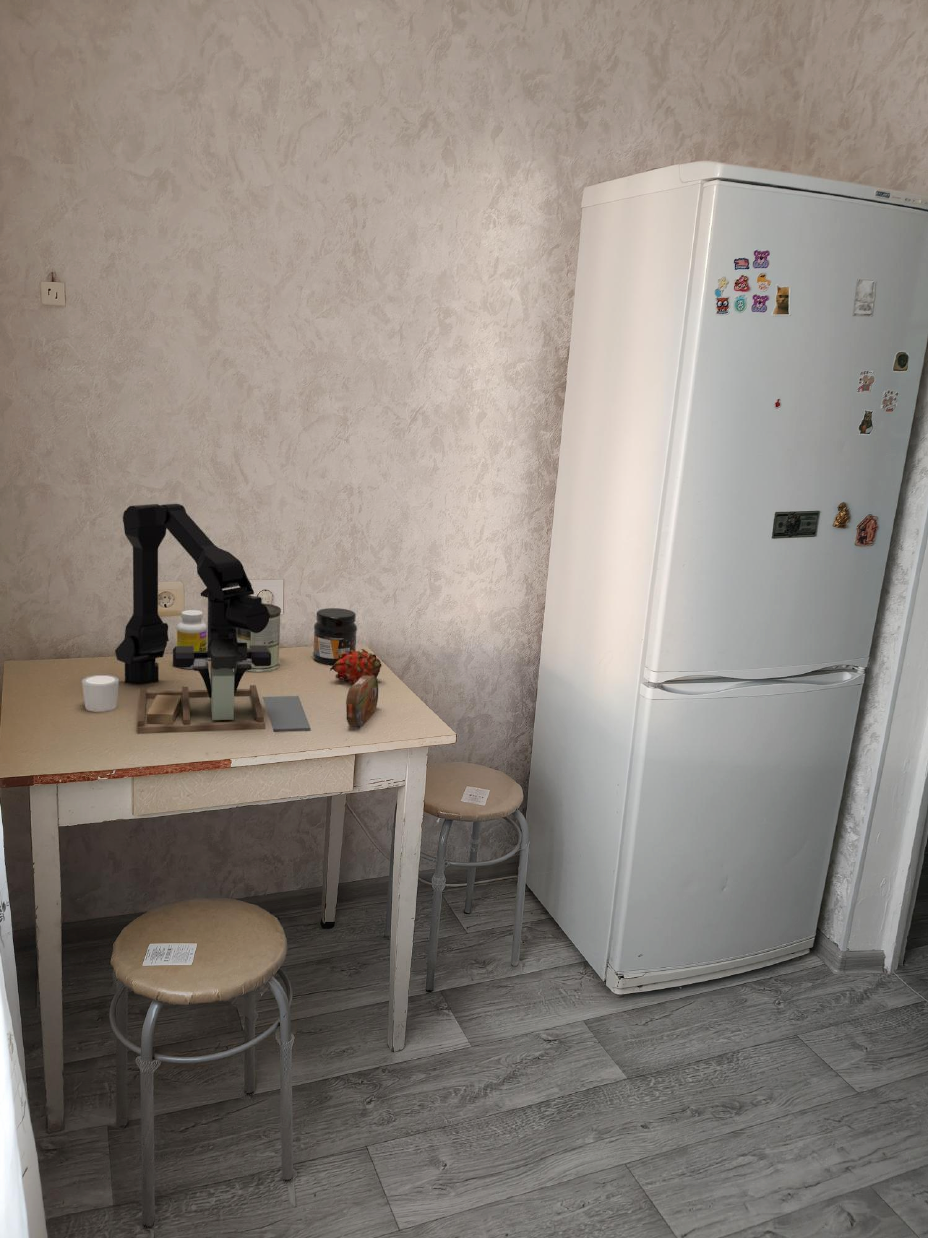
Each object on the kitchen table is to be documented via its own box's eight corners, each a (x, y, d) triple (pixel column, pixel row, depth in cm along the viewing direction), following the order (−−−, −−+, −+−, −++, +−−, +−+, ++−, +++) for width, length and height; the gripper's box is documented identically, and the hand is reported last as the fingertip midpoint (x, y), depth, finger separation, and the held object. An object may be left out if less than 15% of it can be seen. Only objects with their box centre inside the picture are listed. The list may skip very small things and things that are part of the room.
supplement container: (319, 667, 228) (321, 619, 225) (307, 654, 237) (309, 608, 234) (361, 664, 232) (363, 617, 229) (348, 652, 241) (350, 606, 238)
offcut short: (146, 723, 181) (146, 713, 181) (157, 704, 192) (157, 694, 192) (172, 724, 182) (172, 714, 182) (181, 704, 193) (181, 695, 192)
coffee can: (228, 669, 221) (229, 611, 217) (244, 657, 231) (245, 601, 227) (271, 674, 220) (272, 615, 216) (285, 662, 229) (286, 605, 226)
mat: (267, 731, 185) (267, 729, 185) (258, 699, 203) (258, 696, 203) (310, 730, 188) (310, 728, 188) (298, 698, 205) (298, 695, 205)
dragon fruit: (384, 689, 220) (333, 697, 217) (378, 660, 225) (327, 667, 222) (385, 668, 213) (332, 676, 211) (378, 638, 218) (327, 646, 216)
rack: (137, 740, 177) (137, 722, 176) (140, 702, 196) (140, 686, 195) (265, 735, 184) (265, 718, 183) (256, 699, 202) (256, 684, 202)
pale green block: (212, 720, 184) (212, 676, 182) (209, 699, 195) (210, 657, 193) (233, 719, 185) (234, 675, 183) (229, 698, 196) (230, 657, 194)
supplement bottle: (201, 670, 218) (202, 617, 215) (173, 668, 218) (173, 614, 215) (209, 662, 225) (210, 610, 222) (182, 660, 225) (182, 607, 222)
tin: (357, 732, 189) (359, 692, 187) (342, 730, 190) (344, 690, 187) (378, 708, 203) (381, 671, 201) (364, 706, 204) (366, 669, 202)
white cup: (126, 711, 191) (126, 678, 189) (103, 721, 184) (103, 687, 183) (98, 704, 193) (98, 672, 191) (75, 715, 186) (74, 681, 185)
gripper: (173, 633, 176) (173, 712, 179) (275, 632, 181) (272, 709, 185) (172, 617, 186) (172, 693, 190) (269, 617, 191) (267, 690, 195)
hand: (221, 697), depth 190 cm, fingers closed on pale green block, 4 cm apart
